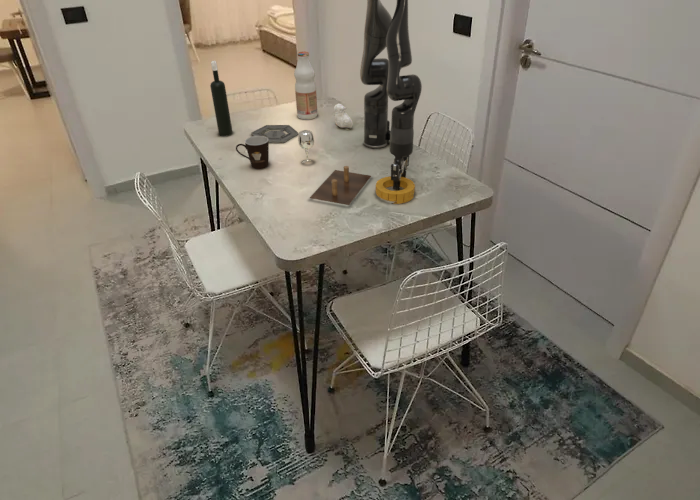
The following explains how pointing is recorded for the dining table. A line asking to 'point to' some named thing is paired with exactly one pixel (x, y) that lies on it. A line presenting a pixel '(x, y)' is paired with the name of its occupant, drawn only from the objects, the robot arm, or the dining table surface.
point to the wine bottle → (220, 103)
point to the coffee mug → (257, 151)
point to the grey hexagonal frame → (276, 133)
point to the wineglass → (306, 141)
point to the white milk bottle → (305, 87)
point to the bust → (342, 117)
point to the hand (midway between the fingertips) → (399, 184)
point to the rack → (341, 187)
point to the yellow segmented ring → (391, 195)
